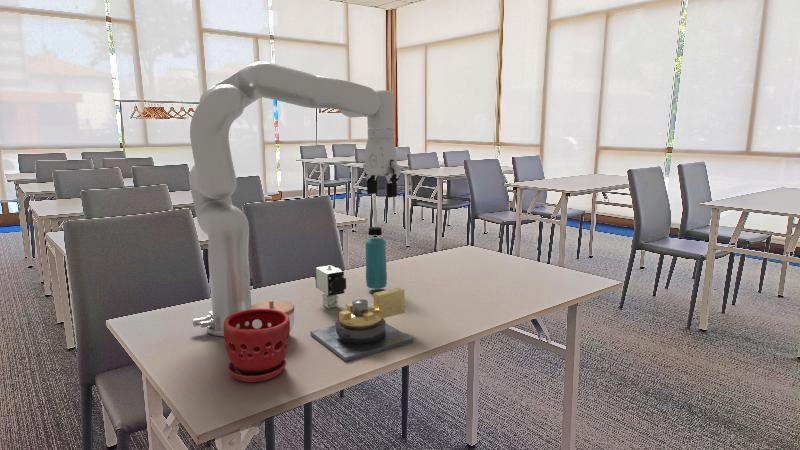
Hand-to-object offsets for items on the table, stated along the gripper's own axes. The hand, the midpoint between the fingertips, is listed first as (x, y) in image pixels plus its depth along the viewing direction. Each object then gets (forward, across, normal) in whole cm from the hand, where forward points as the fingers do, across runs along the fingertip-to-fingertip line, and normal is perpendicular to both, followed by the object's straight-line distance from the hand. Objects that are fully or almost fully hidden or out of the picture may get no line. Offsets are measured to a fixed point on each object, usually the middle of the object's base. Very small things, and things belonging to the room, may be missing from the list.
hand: (381, 195), depth 151 cm
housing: (+31, +22, -23) cm, 44 cm away
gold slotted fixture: (+26, +22, -19) cm, 40 cm away
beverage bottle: (+31, -6, +2) cm, 31 cm away
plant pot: (+31, +24, -49) cm, 63 cm away
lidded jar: (+31, +8, -39) cm, 50 cm away
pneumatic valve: (+31, -2, -16) cm, 35 cm away
